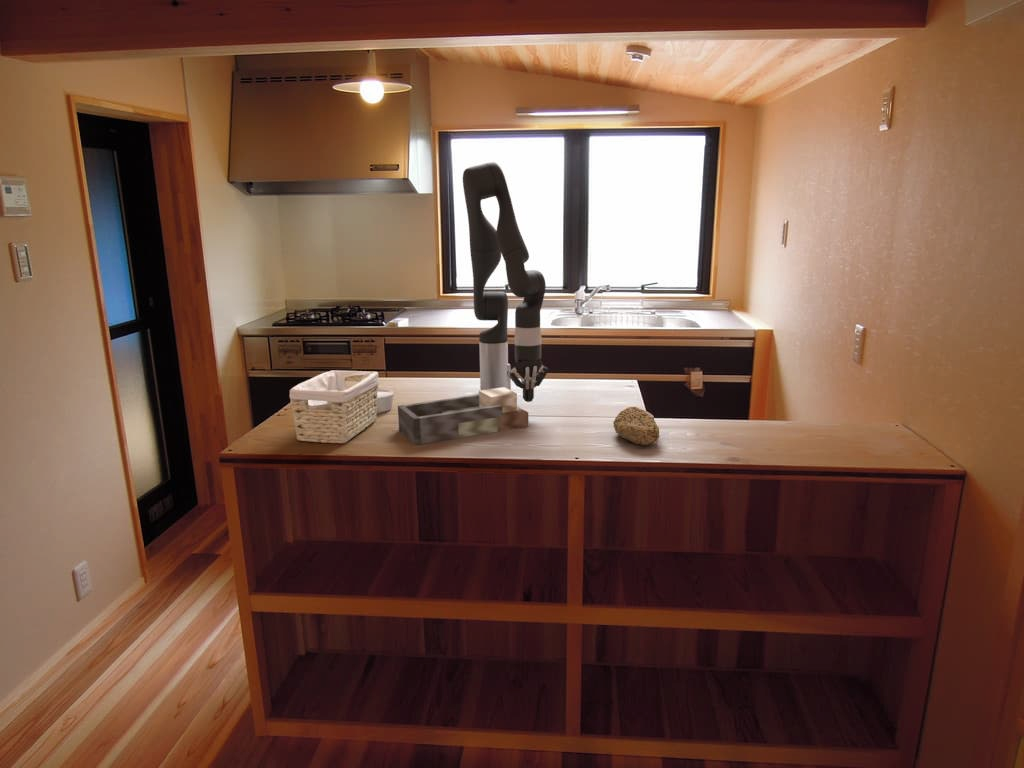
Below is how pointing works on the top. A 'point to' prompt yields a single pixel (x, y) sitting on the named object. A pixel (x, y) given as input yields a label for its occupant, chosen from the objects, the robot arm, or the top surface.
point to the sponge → (636, 426)
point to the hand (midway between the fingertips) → (528, 401)
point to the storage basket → (334, 406)
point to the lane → (455, 419)
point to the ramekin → (384, 400)
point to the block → (498, 399)
